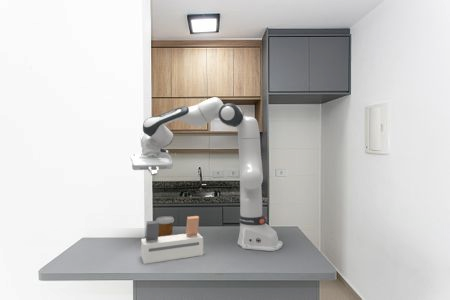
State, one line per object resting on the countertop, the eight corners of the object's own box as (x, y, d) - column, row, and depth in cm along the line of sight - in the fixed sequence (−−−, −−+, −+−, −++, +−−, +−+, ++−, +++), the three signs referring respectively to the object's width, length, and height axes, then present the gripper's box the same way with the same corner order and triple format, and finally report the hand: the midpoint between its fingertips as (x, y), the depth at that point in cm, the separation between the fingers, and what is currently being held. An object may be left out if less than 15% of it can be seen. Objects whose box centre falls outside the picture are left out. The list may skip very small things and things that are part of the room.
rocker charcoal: (145, 239, 131) (146, 221, 127) (157, 237, 133) (158, 220, 129) (146, 242, 129) (147, 224, 126) (157, 240, 131) (159, 223, 128)
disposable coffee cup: (170, 244, 150) (170, 220, 150) (152, 243, 152) (152, 219, 152) (177, 238, 160) (176, 216, 160) (160, 237, 162) (160, 215, 162)
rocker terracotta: (185, 234, 138) (187, 216, 135) (196, 233, 139) (197, 215, 137) (186, 236, 136) (188, 219, 133) (197, 235, 138) (199, 218, 135)
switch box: (141, 256, 133) (141, 238, 133) (197, 248, 143) (197, 232, 143) (144, 264, 125) (143, 245, 125) (203, 255, 135) (203, 237, 135)
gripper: (130, 150, 151) (132, 171, 142) (171, 150, 159) (175, 169, 150) (130, 159, 155) (132, 179, 146) (169, 158, 163) (173, 177, 154)
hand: (154, 174), depth 148 cm, fingers closed
